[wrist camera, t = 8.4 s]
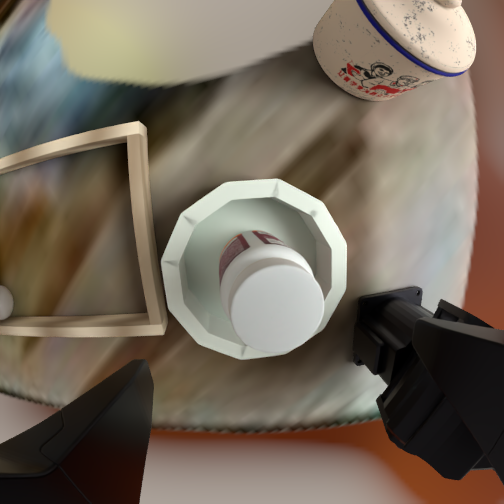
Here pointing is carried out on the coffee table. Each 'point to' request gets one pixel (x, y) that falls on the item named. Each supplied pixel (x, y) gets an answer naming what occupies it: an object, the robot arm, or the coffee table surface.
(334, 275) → the bowl
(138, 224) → the tray
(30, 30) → the coffee table surface
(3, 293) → the pebble
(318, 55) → the teacup with lid
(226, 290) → the pill bottle
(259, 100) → the coffee table surface
